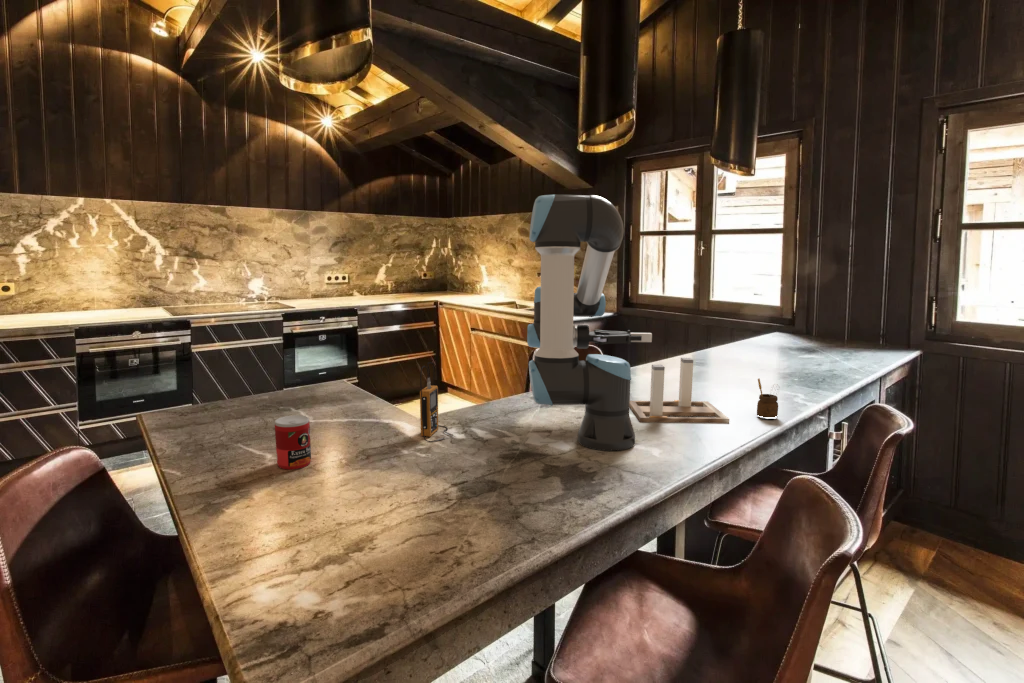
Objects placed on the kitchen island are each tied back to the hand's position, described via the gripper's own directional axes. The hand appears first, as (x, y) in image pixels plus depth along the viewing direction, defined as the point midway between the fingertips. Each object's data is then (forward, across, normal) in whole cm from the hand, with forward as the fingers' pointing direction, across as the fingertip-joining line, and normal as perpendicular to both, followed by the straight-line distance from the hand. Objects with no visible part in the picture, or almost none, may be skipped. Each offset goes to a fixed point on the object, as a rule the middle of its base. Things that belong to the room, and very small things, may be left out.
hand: (651, 337), depth 180 cm
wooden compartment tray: (+8, +6, -24) cm, 26 cm away
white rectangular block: (0, +12, -22) cm, 25 cm away
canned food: (-93, +52, -23) cm, 109 cm away
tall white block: (+12, 0, -23) cm, 26 cm away
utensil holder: (+36, +5, -24) cm, 43 cm away
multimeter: (-62, +28, -24) cm, 72 cm away
